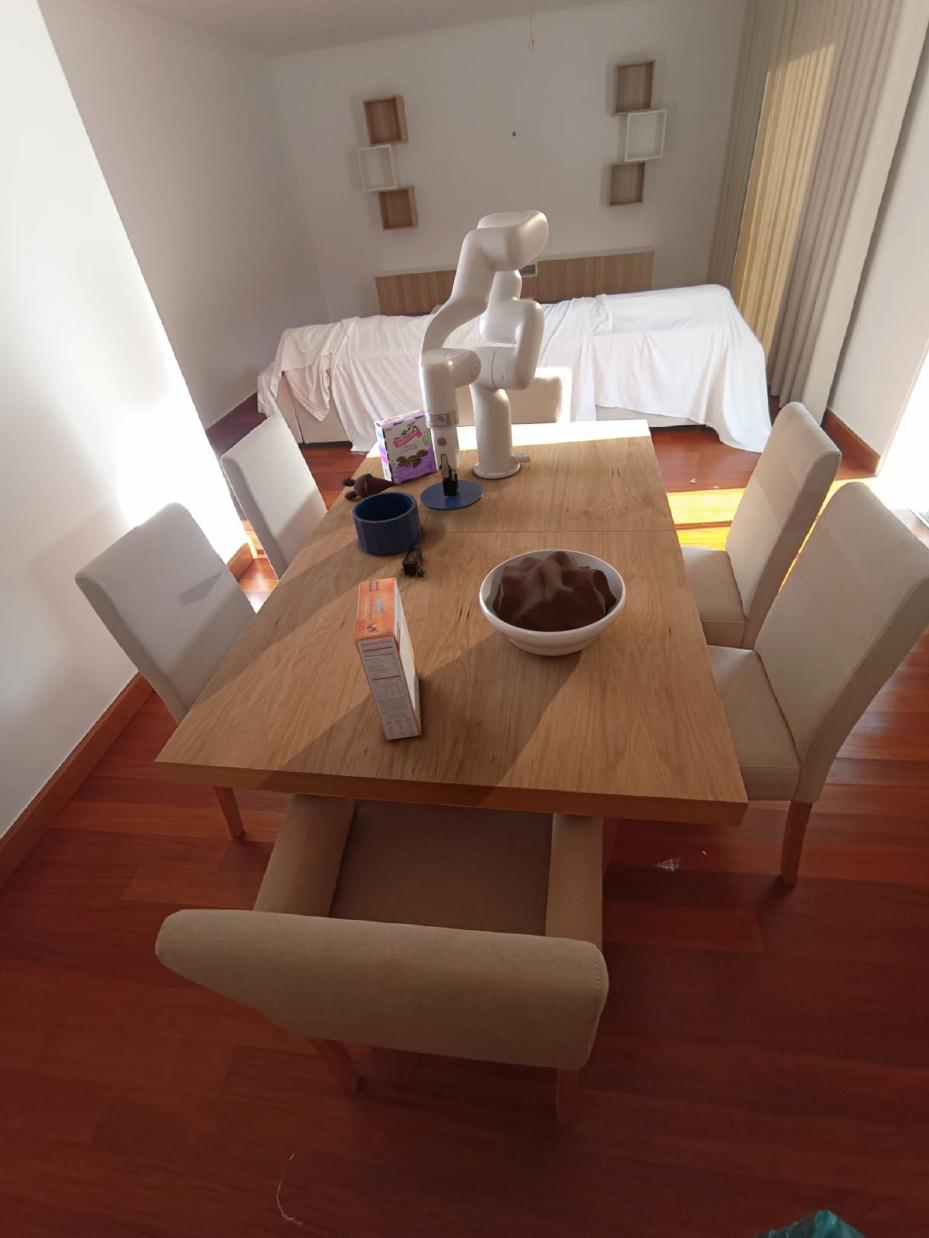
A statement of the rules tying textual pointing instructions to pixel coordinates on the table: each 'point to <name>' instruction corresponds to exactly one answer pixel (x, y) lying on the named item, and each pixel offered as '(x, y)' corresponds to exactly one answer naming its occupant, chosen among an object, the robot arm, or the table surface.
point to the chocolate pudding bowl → (552, 600)
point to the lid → (465, 496)
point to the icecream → (366, 486)
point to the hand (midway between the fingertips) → (451, 491)
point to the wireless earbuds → (413, 562)
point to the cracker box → (388, 658)
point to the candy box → (405, 447)
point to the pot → (387, 523)
